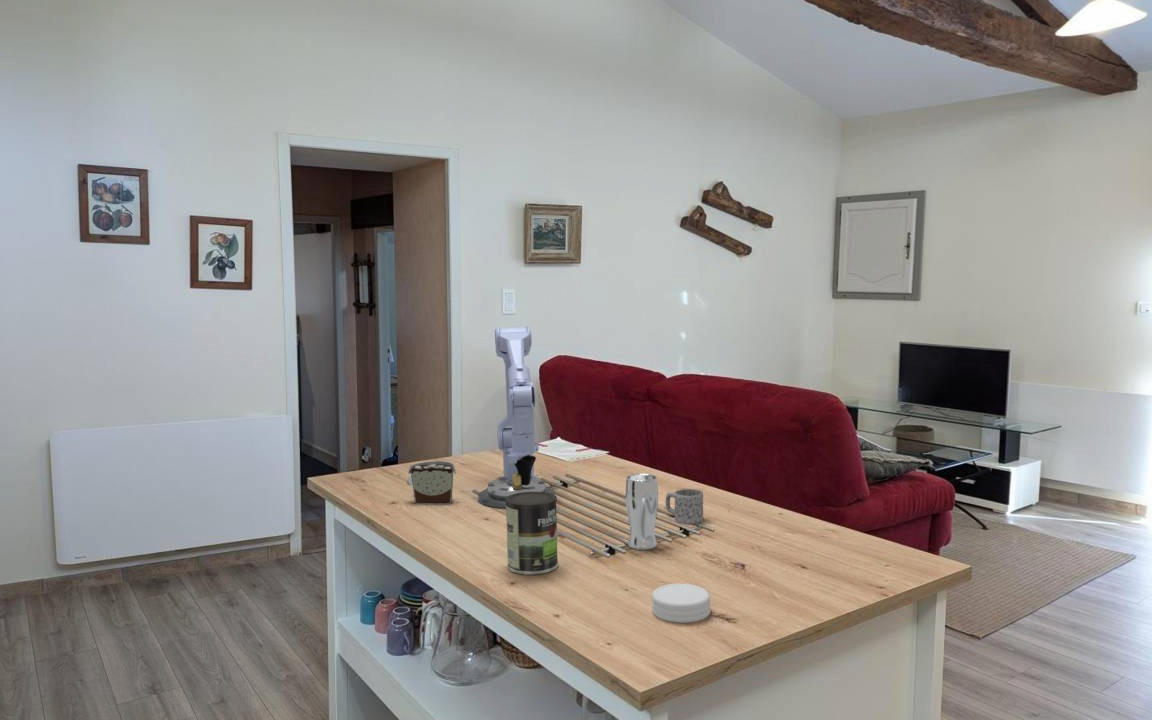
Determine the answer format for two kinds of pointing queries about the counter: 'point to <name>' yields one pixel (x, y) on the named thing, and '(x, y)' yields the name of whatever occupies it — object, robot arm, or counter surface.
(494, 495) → the lugged hub disc
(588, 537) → the counter surface
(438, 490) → the food container
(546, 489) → the dark grey flat disc
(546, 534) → the coffee can
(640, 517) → the beer glass
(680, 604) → the white round lid
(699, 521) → the mug
